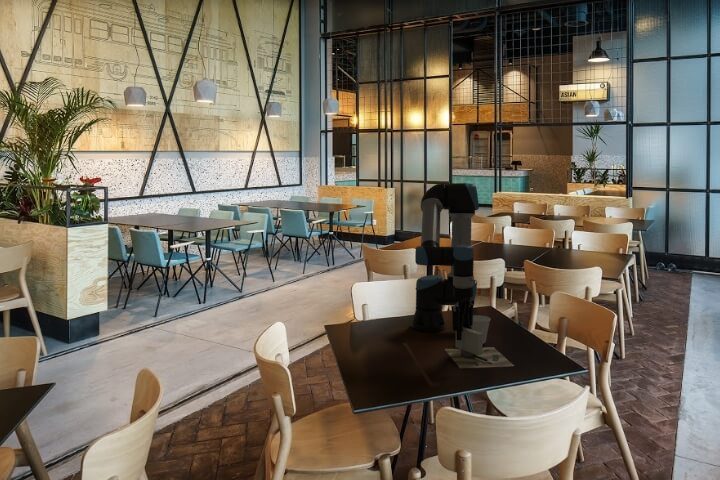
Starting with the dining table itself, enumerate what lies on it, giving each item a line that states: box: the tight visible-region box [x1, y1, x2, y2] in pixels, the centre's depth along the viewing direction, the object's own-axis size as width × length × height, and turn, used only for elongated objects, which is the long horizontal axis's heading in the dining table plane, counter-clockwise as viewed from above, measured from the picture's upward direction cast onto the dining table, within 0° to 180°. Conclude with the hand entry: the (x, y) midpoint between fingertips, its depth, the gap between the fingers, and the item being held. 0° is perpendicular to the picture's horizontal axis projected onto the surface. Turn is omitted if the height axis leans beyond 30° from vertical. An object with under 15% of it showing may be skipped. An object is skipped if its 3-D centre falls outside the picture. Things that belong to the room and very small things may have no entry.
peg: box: [455, 327, 488, 361], centre depth 221 cm, size 15×6×10 cm, turn 34°
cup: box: [470, 314, 492, 344], centre depth 241 cm, size 10×10×11 cm
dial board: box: [444, 346, 515, 369], centre depth 222 cm, size 22×20×1 cm
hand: (462, 346), depth 226 cm, fingers closed on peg, 3 cm apart
